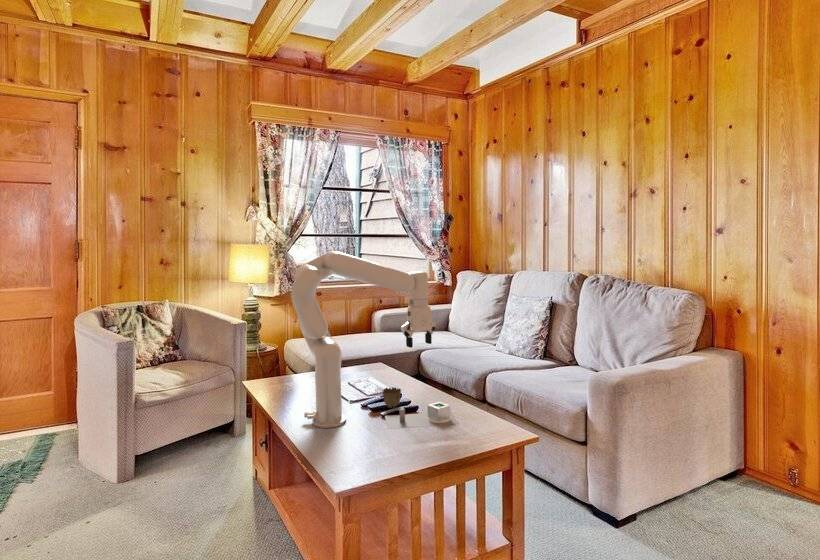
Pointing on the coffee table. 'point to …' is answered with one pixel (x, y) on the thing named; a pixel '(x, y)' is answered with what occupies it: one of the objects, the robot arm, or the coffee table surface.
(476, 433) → the coffee table surface
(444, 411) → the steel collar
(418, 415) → the tool board
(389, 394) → the cup
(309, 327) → the robot arm
